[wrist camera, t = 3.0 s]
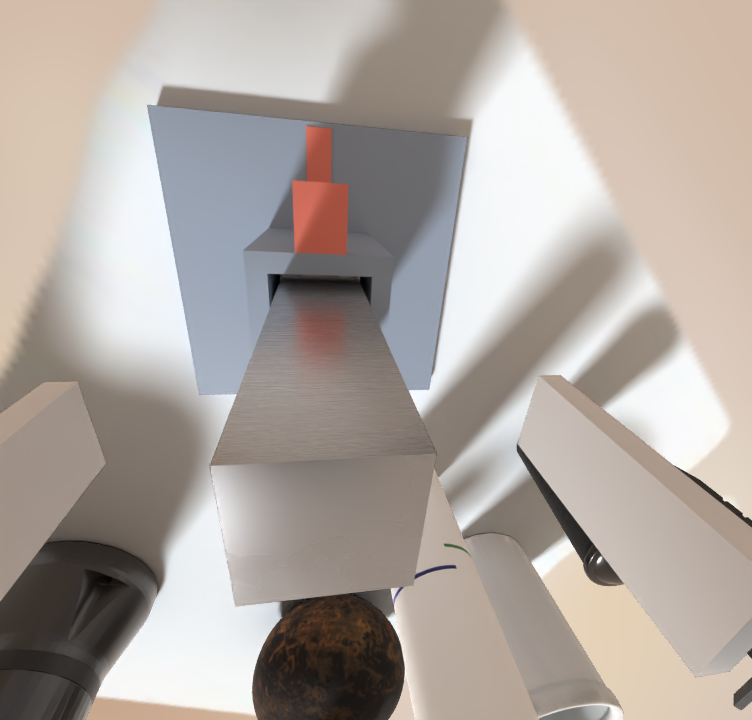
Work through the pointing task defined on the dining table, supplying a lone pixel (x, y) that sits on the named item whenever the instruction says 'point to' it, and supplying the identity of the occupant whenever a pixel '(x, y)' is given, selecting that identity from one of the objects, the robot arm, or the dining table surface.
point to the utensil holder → (539, 635)
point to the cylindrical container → (454, 632)
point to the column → (321, 453)
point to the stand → (304, 227)
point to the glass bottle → (329, 663)
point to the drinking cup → (574, 532)
